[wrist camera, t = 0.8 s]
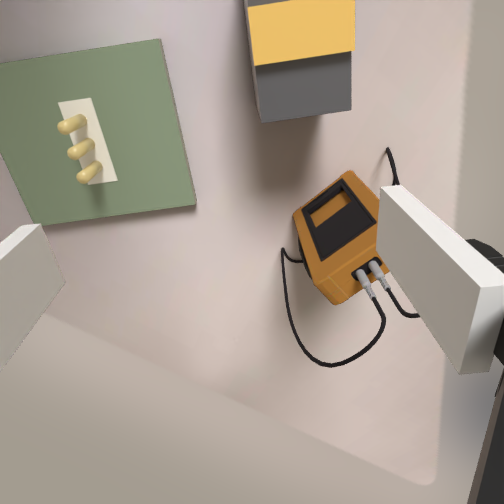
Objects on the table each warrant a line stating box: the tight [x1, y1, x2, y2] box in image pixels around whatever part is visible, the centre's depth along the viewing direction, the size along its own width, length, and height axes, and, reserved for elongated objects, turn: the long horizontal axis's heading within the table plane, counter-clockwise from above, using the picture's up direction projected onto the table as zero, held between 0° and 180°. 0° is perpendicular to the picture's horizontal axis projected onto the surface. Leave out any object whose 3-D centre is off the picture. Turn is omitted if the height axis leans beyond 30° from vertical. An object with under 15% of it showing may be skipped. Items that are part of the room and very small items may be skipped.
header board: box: [0, 39, 197, 226], centre depth 31 cm, size 14×16×5 cm
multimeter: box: [281, 147, 420, 368], centre depth 30 cm, size 15×10×20 cm
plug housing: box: [243, 0, 355, 123], centre depth 26 cm, size 10×6×10 cm, turn 8°
